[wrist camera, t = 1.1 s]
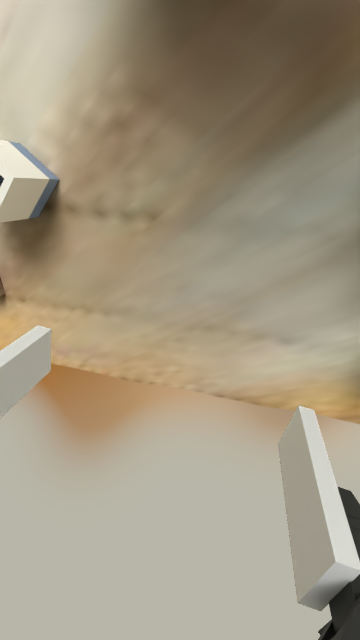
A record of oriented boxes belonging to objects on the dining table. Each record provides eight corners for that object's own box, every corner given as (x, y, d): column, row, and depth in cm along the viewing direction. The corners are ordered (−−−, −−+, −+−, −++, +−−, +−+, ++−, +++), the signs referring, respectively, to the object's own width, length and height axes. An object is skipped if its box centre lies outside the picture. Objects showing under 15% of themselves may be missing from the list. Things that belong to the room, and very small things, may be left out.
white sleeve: (1, 184, 38) (-55, 184, 31) (20, 143, 36) (-37, 132, 28) (38, 217, 39) (-9, 223, 32) (59, 179, 36) (14, 177, 29)
